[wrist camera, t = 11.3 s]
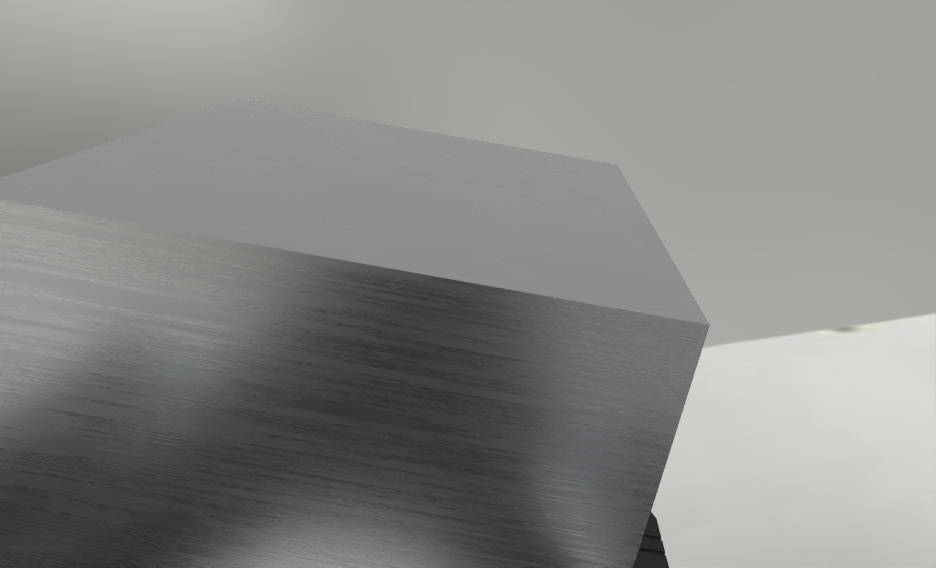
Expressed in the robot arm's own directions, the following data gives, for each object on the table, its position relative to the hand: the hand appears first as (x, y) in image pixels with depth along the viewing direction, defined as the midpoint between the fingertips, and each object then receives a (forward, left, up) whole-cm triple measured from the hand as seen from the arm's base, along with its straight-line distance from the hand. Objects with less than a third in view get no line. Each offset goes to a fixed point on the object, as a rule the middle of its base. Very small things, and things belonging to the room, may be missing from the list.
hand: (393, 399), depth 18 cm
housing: (0, -5, -9) cm, 10 cm away
